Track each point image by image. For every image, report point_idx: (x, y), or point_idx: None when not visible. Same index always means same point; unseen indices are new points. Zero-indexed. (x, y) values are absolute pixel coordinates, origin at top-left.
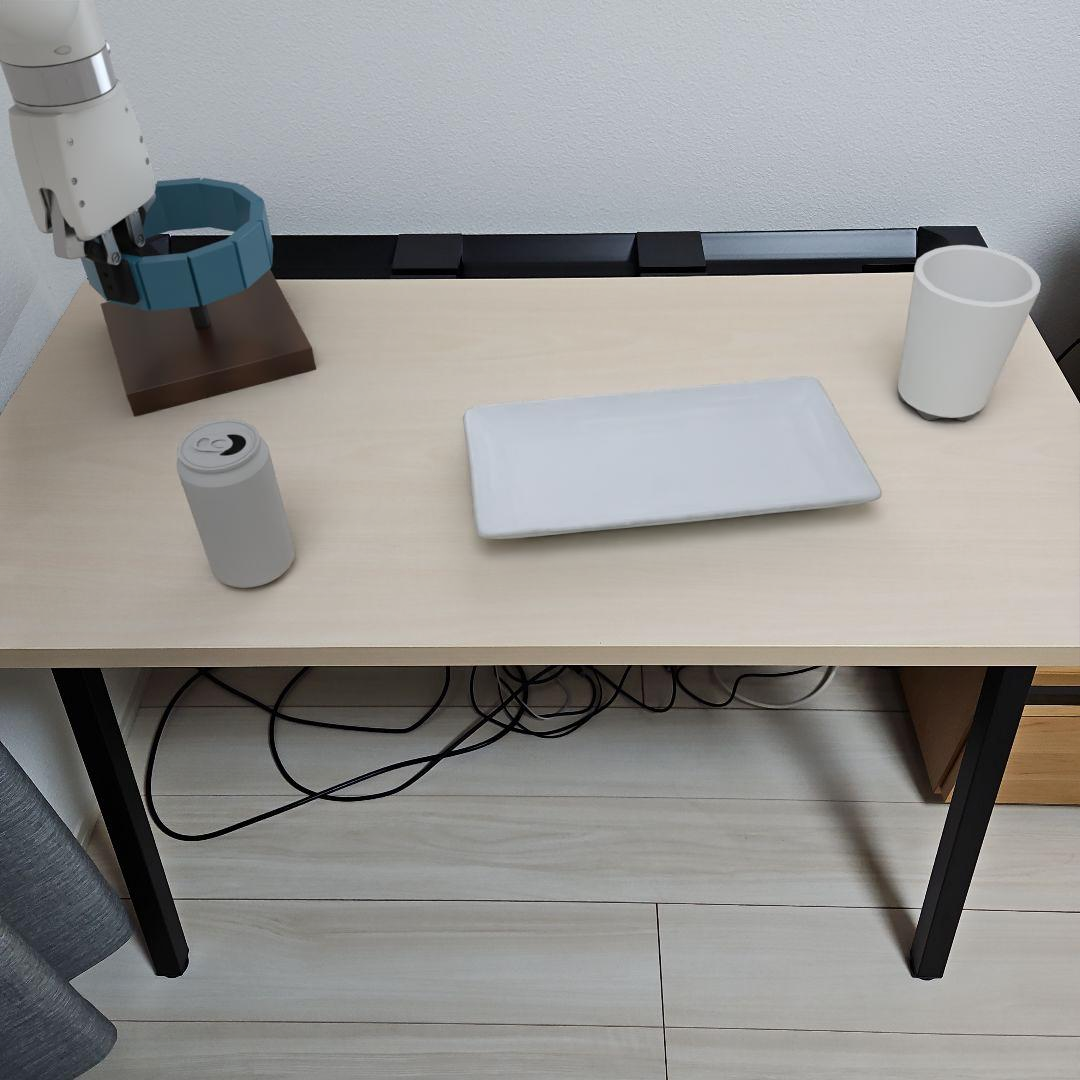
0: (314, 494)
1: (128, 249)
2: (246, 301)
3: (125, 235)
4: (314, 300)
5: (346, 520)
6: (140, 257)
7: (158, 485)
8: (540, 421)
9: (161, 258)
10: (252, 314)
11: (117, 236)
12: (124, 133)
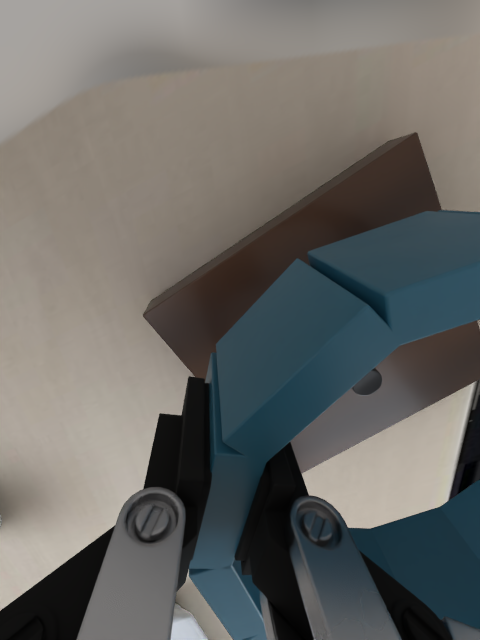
0: (79, 514)
1: (250, 553)
2: (396, 379)
3: (284, 593)
4: (423, 410)
5: (55, 543)
6: (226, 569)
7: (31, 386)
8: (196, 638)
9: (231, 604)
10: (361, 399)
11: (286, 563)
12: None
